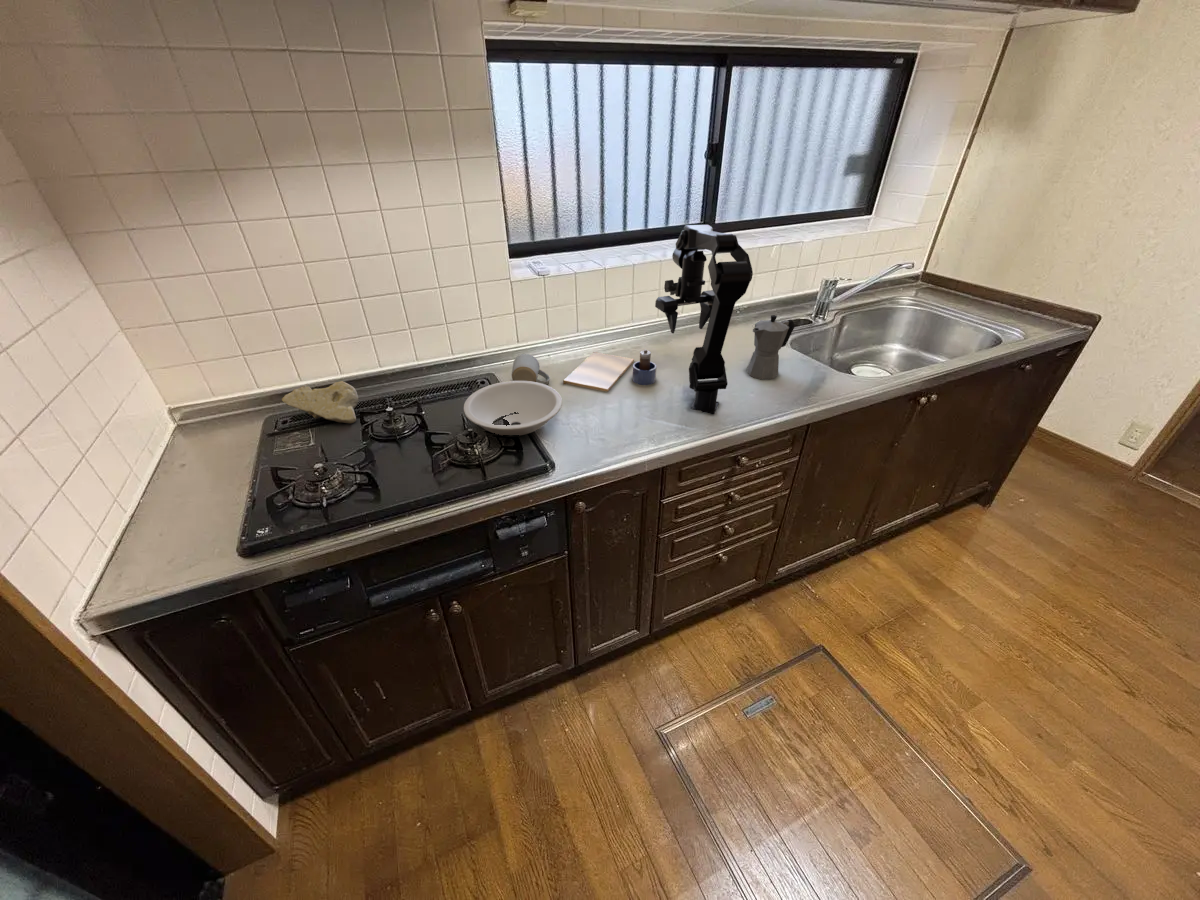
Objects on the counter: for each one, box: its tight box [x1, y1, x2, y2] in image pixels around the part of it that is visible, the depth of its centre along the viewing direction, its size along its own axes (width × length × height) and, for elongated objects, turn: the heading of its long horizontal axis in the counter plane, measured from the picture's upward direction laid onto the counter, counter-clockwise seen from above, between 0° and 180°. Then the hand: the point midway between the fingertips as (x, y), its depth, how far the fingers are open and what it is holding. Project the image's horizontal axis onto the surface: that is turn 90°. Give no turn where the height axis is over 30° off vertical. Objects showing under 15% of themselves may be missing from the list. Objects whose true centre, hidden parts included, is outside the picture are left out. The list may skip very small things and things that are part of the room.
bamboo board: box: [562, 351, 635, 393], centre depth 151 cm, size 22×14×1 cm, turn 157°
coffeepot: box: [746, 314, 796, 381], centre depth 147 cm, size 15×9×18 cm, turn 116°
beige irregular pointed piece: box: [281, 380, 359, 424], centre depth 128 cm, size 15×7×15 cm
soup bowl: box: [463, 380, 563, 436], centre depth 125 cm, size 24×24×7 cm
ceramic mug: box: [511, 353, 551, 386], centre depth 143 cm, size 11×8×8 cm
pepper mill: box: [639, 349, 652, 370], centre depth 144 cm, size 3×3×9 cm
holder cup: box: [631, 360, 658, 386], centre depth 145 cm, size 7×7×5 cm
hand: (686, 330), depth 143 cm, fingers open, 9 cm apart
